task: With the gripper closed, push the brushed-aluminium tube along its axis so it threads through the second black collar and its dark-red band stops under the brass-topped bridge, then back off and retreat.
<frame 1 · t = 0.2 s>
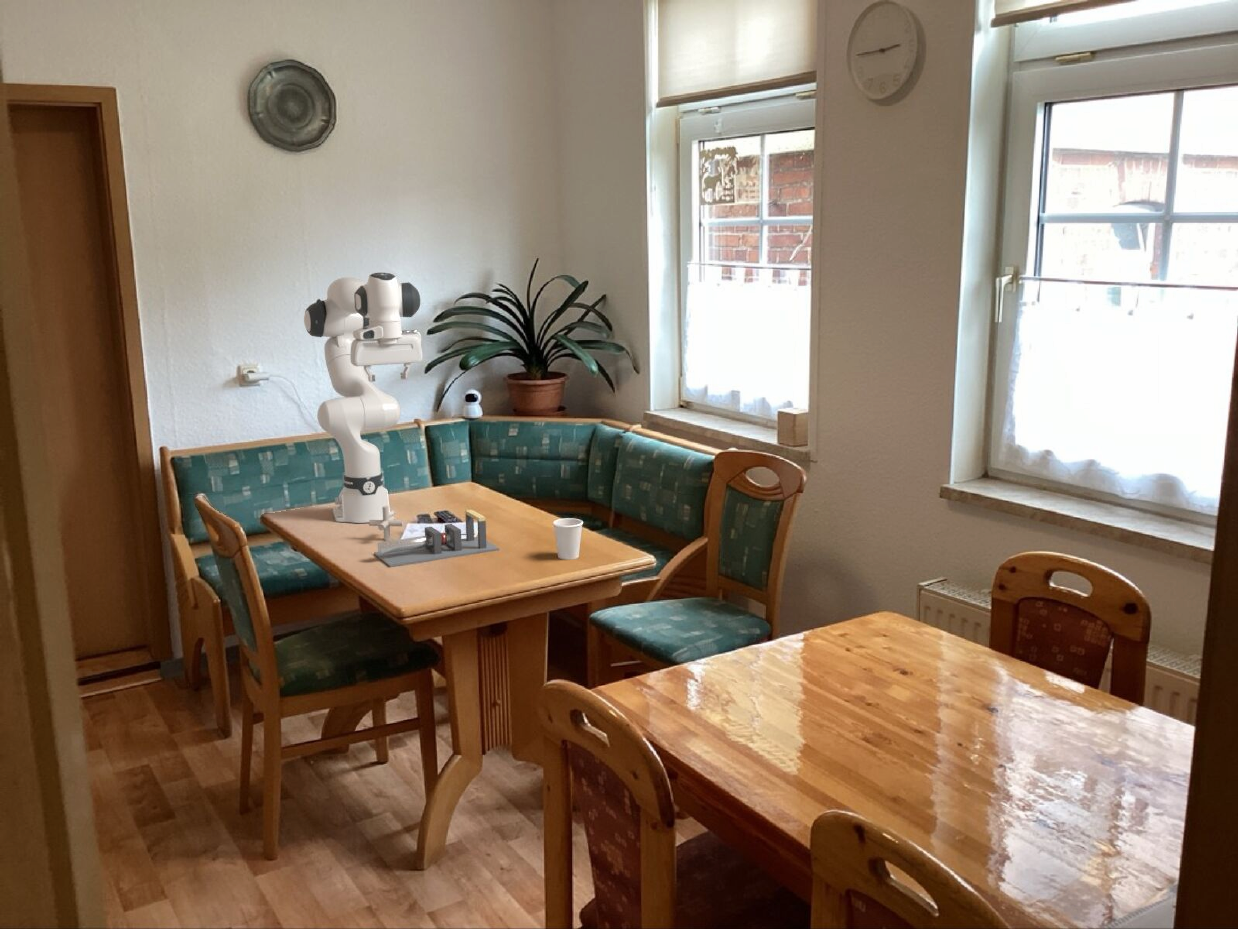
hand: (388, 380, 304), 48 cm above the table, fingers open, 8 cm apart
tube: (414, 543, 299), point 4 cm above the table, slide at 0.0 cm
collar board: (436, 552, 303), on the table
pipe connector: (387, 540, 316), on the table
dixie cup: (568, 557, 298), on the table
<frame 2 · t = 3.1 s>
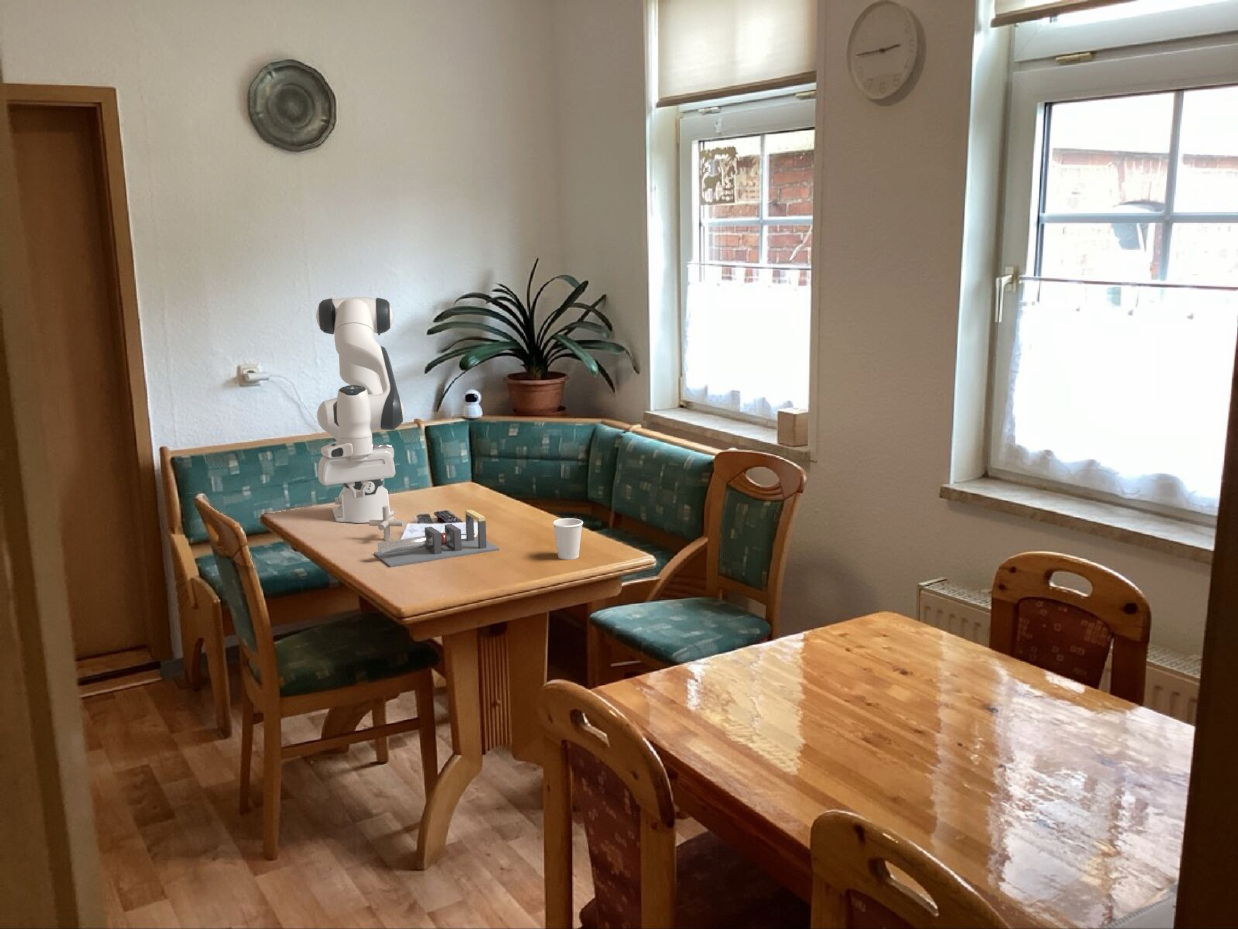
hand: (358, 497, 288), 19 cm above the table, fingers closed
nothing on the table moved.
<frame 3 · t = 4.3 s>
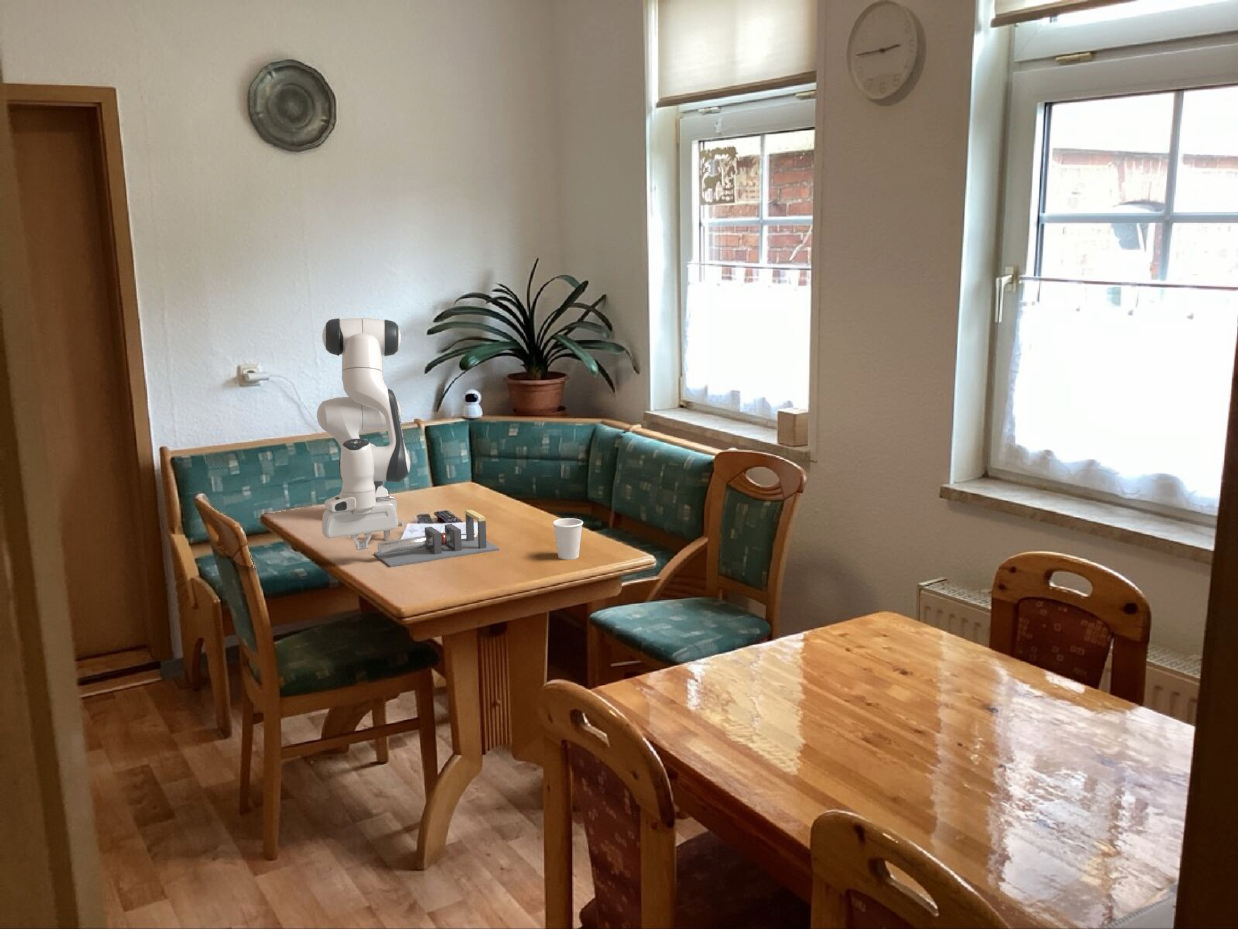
hand: (361, 549, 291), 4 cm above the table, fingers closed
nothing on the table moved.
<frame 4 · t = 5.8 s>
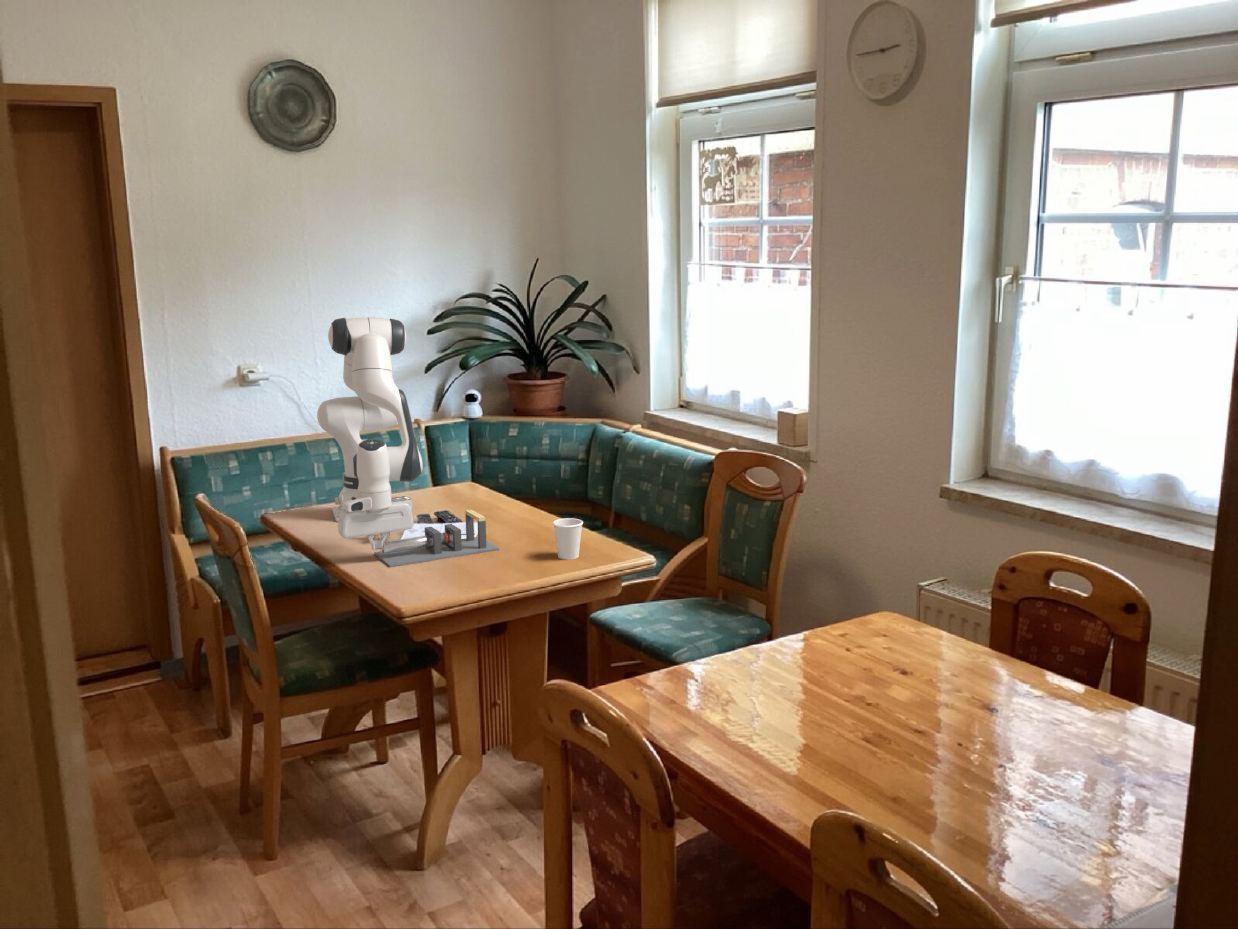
hand: (377, 548, 294), 4 cm above the table, fingers closed
tube: (417, 542, 299), point 4 cm above the table, slide at 1.0 cm, touching gripper
everything else where it was.
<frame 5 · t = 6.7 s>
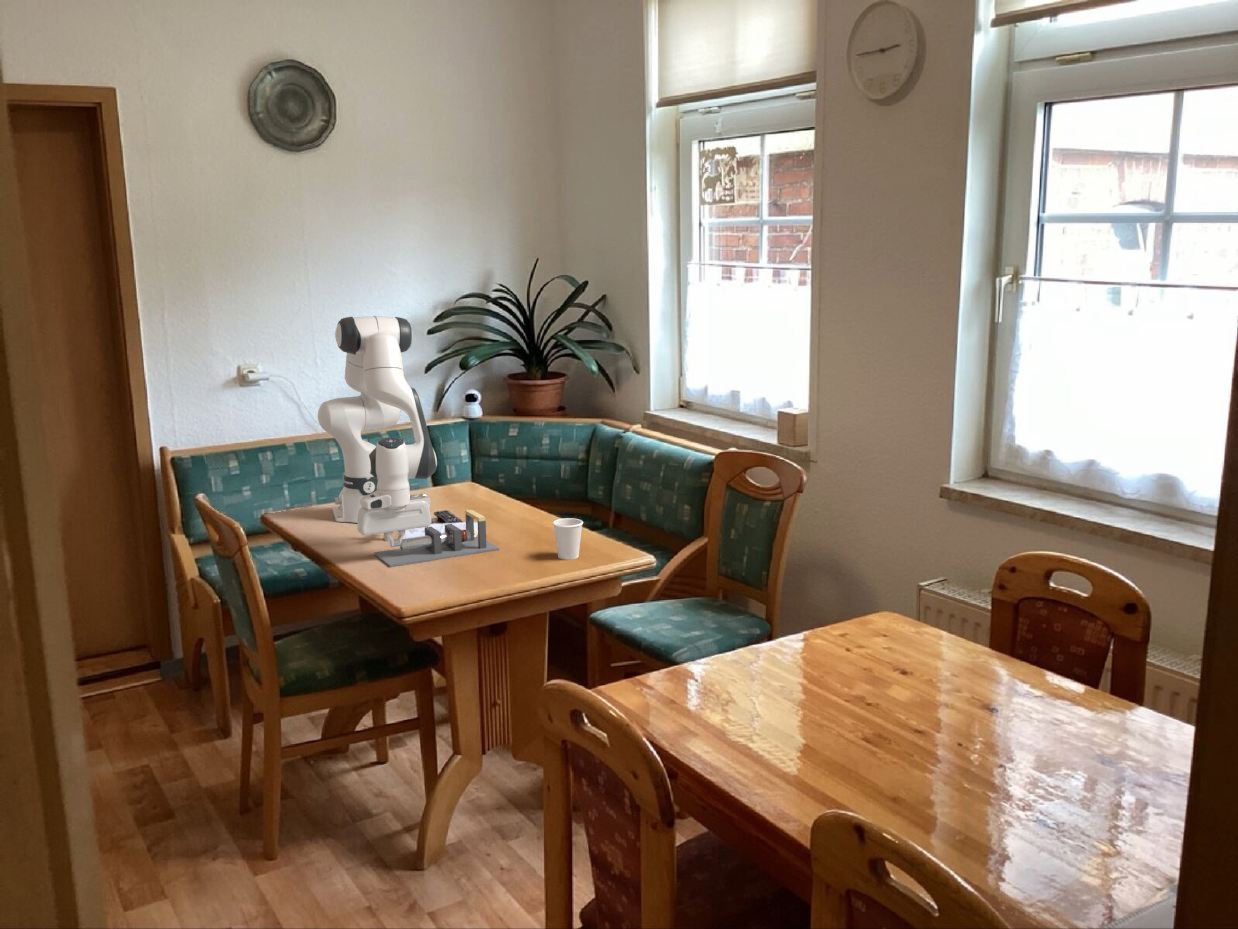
hand: (396, 546, 296), 4 cm above the table, fingers closed
tube: (435, 540, 302), point 4 cm above the table, slide at 6.2 cm, touching gripper
everything else where it was.
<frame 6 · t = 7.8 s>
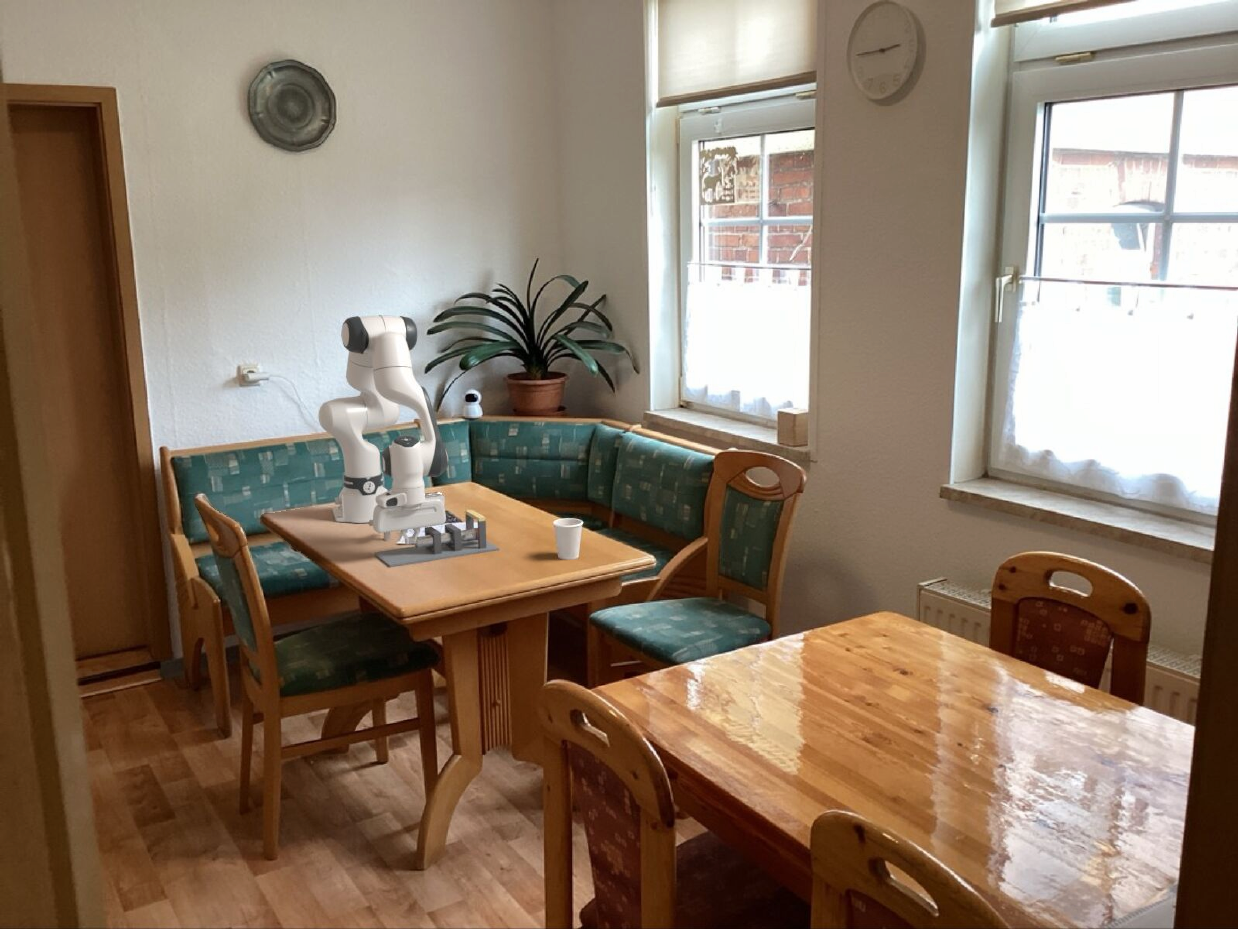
hand: (411, 543, 298), 4 cm above the table, fingers closed
tube: (449, 537, 304), point 4 cm above the table, slide at 10.5 cm, touching gripper
everything else where it was.
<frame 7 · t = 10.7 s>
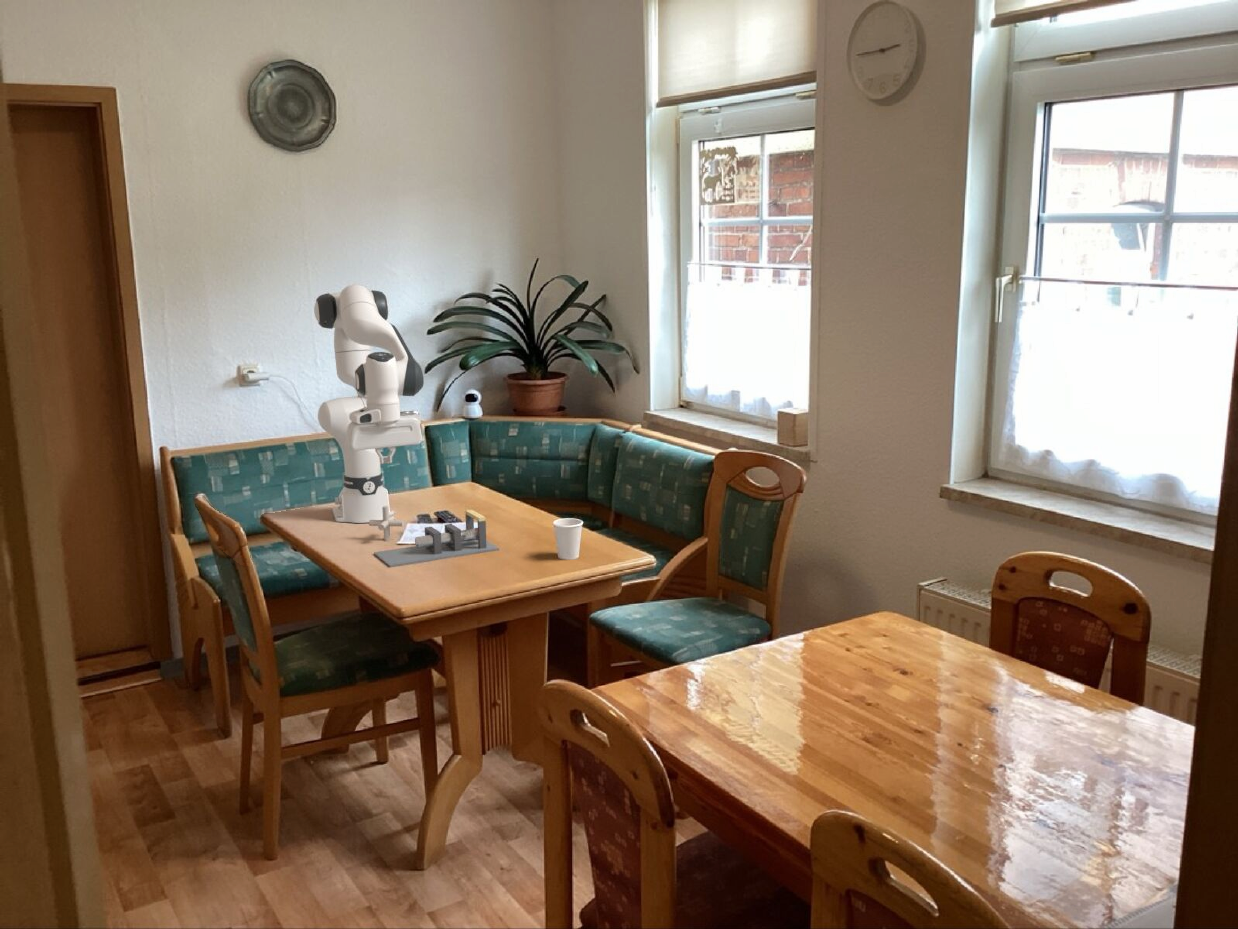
hand: (386, 463, 292), 27 cm above the table, fingers closed
tube: (450, 537, 304), point 4 cm above the table, slide at 10.7 cm
everything else where it was.
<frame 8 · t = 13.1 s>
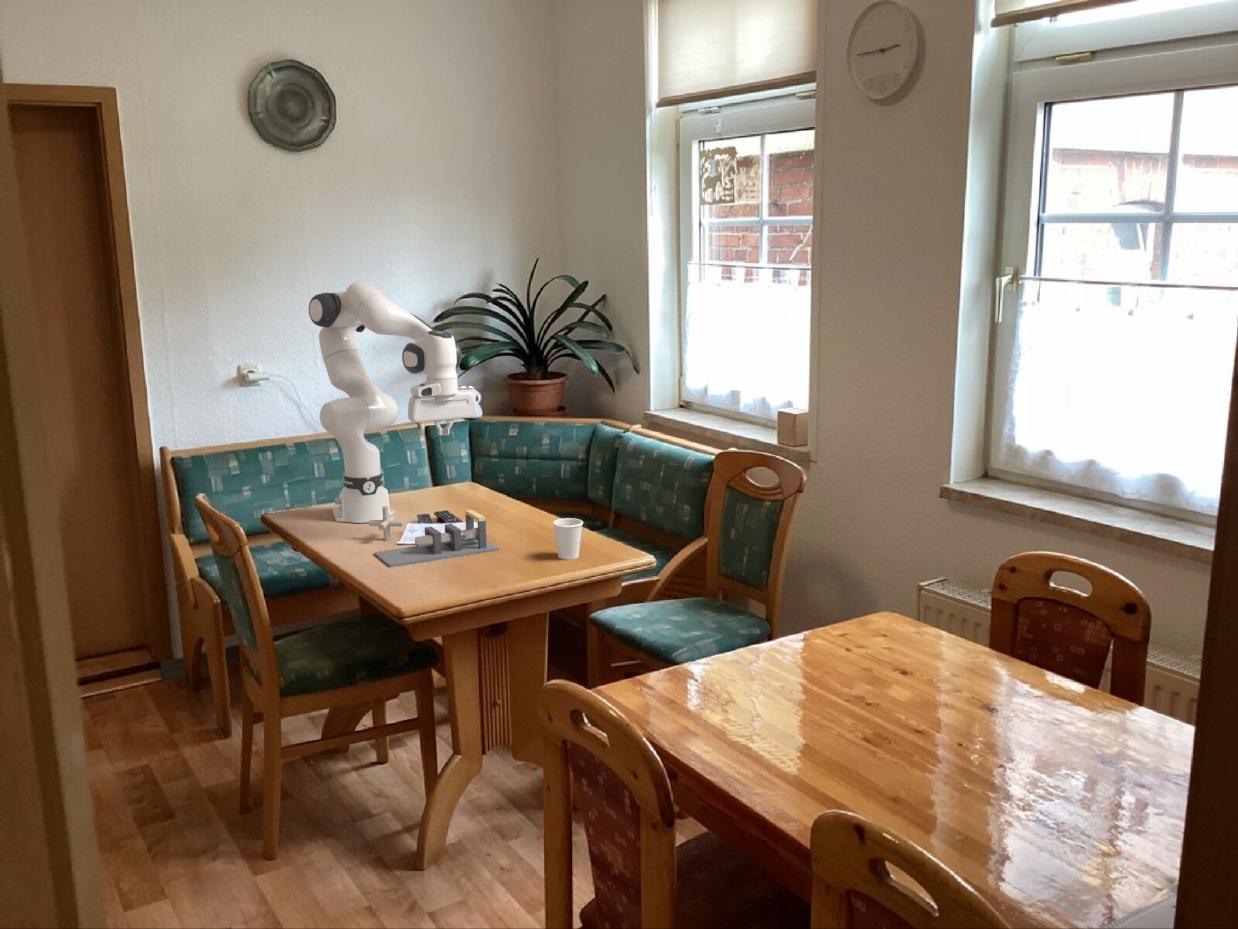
hand: (444, 434, 310), 31 cm above the table, fingers closed
nothing on the table moved.
at the end: tube slide at 10.7 cm; tube moved 10.7 cm from its start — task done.
